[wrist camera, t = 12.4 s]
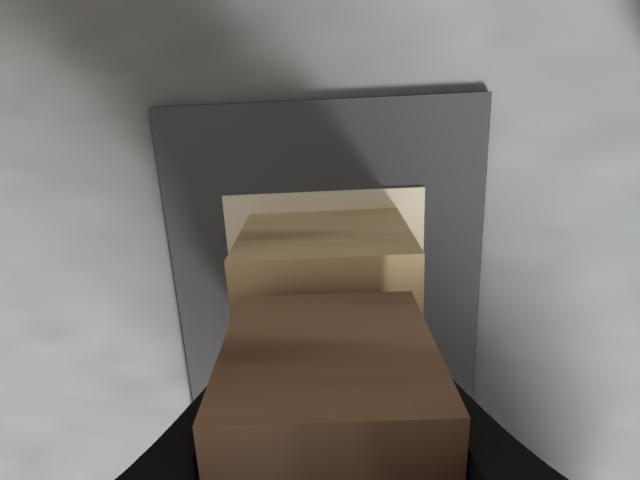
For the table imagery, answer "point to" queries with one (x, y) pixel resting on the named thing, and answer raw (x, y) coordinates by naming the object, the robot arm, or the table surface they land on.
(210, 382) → the walnut block
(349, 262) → the oak block
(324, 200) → the gray rectangular panel
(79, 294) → the table surface
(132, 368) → the table surface
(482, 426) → the robot arm
